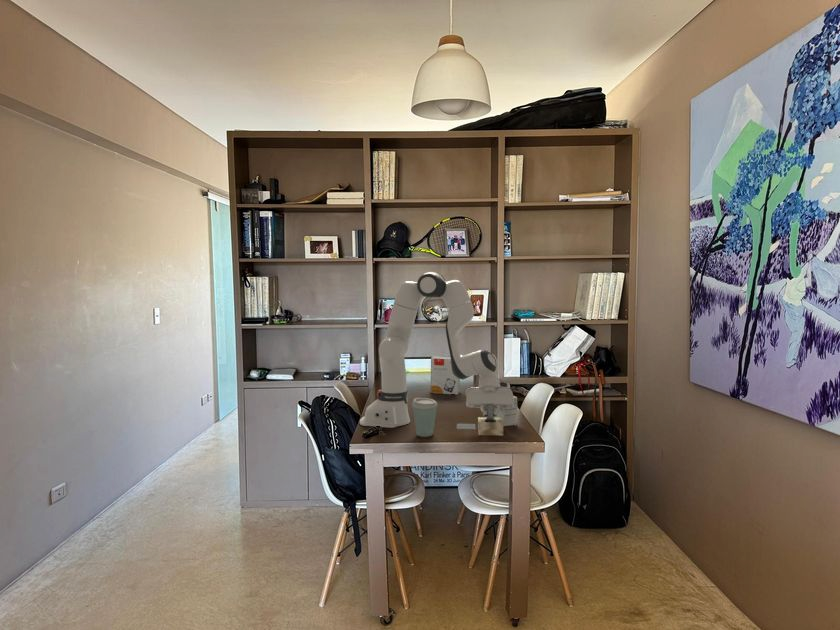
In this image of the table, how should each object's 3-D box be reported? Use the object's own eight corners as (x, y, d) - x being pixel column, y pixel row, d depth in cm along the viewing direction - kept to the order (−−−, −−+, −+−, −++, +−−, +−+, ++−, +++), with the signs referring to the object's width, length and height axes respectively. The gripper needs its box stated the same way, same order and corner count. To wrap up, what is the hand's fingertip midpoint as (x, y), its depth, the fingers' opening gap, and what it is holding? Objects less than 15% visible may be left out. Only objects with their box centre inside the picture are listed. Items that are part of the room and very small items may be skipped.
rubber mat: (456, 429, 227) (456, 428, 227) (456, 424, 235) (456, 423, 235) (475, 430, 226) (475, 429, 226) (475, 424, 234) (475, 423, 234)
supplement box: (493, 422, 237) (494, 394, 236) (508, 421, 240) (508, 393, 239) (503, 427, 230) (503, 398, 229) (517, 425, 233) (517, 396, 232)
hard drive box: (430, 393, 295) (430, 357, 293) (433, 390, 302) (433, 355, 301) (457, 395, 291) (457, 358, 290) (460, 392, 299) (460, 356, 297)
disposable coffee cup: (436, 431, 224) (436, 396, 223) (438, 439, 214) (438, 402, 212) (411, 431, 224) (411, 396, 223) (412, 439, 213) (411, 403, 212)
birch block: (478, 435, 218) (478, 423, 218) (477, 428, 228) (477, 417, 228) (503, 436, 217) (503, 424, 217) (501, 429, 227) (501, 417, 227)
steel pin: (486, 429, 221) (486, 405, 220) (486, 426, 224) (486, 403, 223) (494, 429, 221) (494, 405, 220) (493, 427, 224) (493, 403, 223)
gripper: (465, 383, 229) (465, 411, 220) (513, 383, 227) (515, 412, 218) (465, 391, 234) (465, 419, 225) (512, 391, 232) (514, 420, 223)
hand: (490, 415), depth 221 cm, fingers closed on steel pin, 3 cm apart
